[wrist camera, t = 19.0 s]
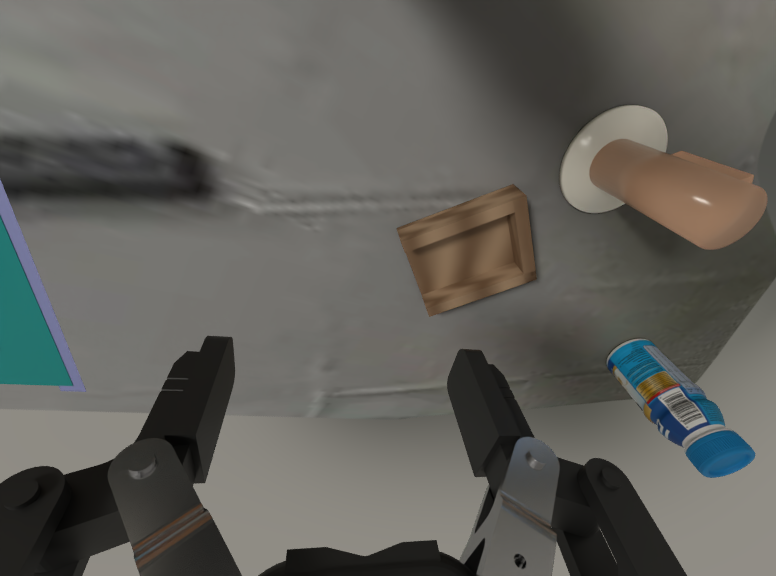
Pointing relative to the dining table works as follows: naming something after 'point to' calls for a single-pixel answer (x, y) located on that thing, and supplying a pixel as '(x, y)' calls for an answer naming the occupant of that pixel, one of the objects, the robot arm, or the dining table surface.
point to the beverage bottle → (678, 408)
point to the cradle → (471, 249)
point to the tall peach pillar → (681, 191)
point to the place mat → (28, 317)
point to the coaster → (592, 138)
